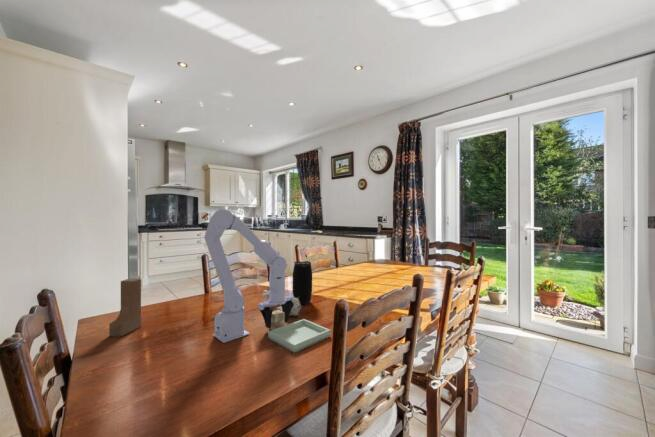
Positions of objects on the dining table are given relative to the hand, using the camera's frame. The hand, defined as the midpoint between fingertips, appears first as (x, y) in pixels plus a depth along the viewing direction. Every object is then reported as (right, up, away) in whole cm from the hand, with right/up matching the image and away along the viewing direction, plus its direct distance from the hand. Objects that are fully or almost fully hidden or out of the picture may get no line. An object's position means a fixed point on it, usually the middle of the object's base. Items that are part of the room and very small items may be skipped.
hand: (276, 324), depth 103 cm
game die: (+4, -2, +13) cm, 14 cm away
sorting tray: (+9, -2, -8) cm, 12 cm away
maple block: (0, -2, 0) cm, 2 cm away
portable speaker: (+7, -1, +30) cm, 31 cm away
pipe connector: (-7, -1, +27) cm, 28 cm away
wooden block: (-53, -1, -4) cm, 53 cm away
